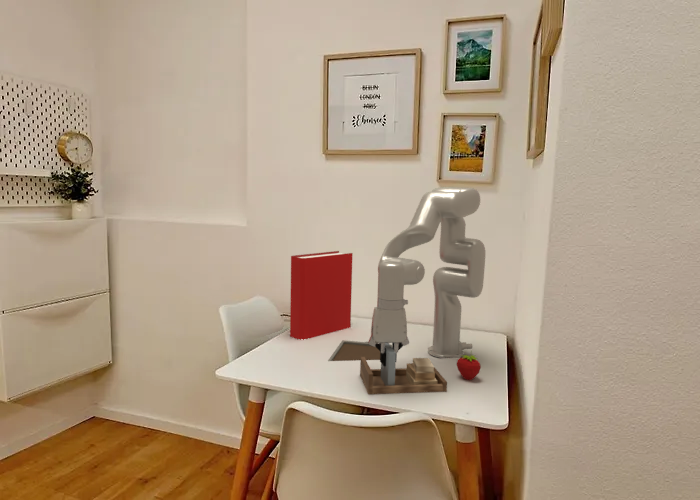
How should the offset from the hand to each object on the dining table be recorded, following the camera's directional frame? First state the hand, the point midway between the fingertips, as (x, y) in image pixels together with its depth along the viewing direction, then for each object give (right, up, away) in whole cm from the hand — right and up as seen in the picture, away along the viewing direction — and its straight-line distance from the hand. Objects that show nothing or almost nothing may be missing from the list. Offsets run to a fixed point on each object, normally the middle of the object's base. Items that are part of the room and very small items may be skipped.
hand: (388, 364), depth 143 cm
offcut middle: (+10, -4, +2) cm, 11 cm away
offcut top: (+11, -2, +1) cm, 11 cm away
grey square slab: (0, -6, +1) cm, 6 cm away
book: (-23, 0, +55) cm, 60 cm away
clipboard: (-7, -4, +28) cm, 29 cm away
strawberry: (+25, -7, +7) cm, 27 cm away
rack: (+4, -7, +1) cm, 8 cm away
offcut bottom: (+10, -6, +2) cm, 12 cm away
